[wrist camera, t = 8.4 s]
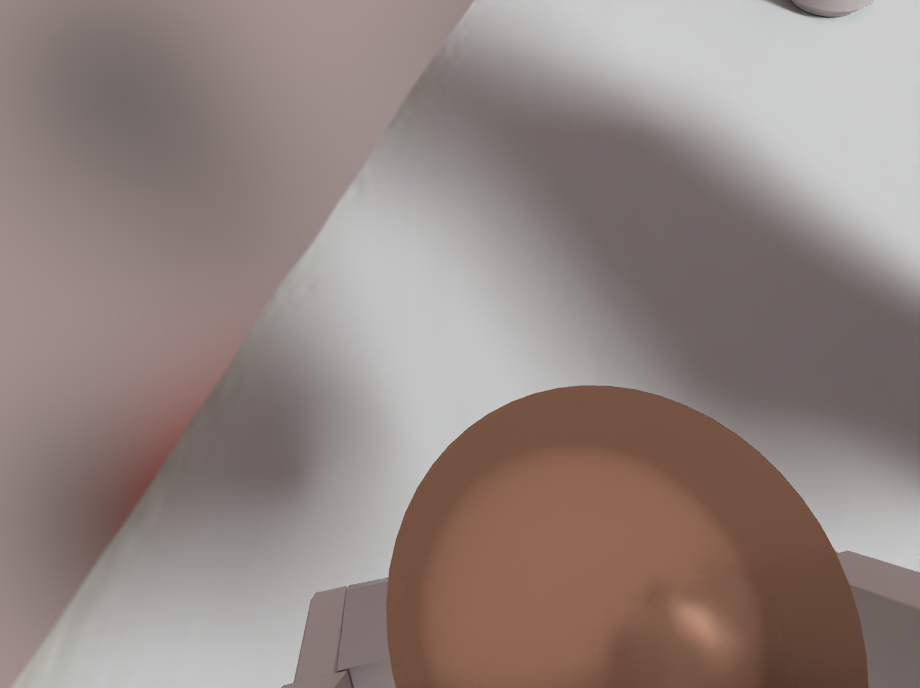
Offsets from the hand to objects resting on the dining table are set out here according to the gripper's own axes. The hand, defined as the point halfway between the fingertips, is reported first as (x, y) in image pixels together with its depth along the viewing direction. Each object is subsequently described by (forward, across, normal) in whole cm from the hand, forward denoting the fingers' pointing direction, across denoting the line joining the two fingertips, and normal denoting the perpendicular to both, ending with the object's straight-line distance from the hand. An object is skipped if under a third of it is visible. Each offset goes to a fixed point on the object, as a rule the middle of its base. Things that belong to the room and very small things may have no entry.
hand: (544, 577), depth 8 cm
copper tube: (+4, 0, +5) cm, 6 cm away
